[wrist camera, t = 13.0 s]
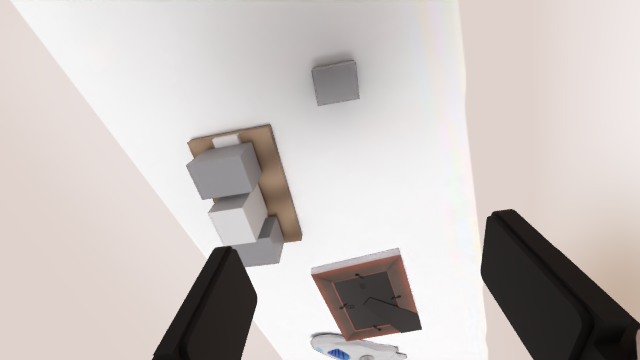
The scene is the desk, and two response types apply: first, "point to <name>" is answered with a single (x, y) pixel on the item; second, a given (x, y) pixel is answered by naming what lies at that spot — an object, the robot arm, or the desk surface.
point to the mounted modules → (231, 179)
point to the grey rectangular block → (336, 82)
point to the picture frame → (368, 295)
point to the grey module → (239, 217)
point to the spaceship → (354, 349)
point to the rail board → (272, 173)
